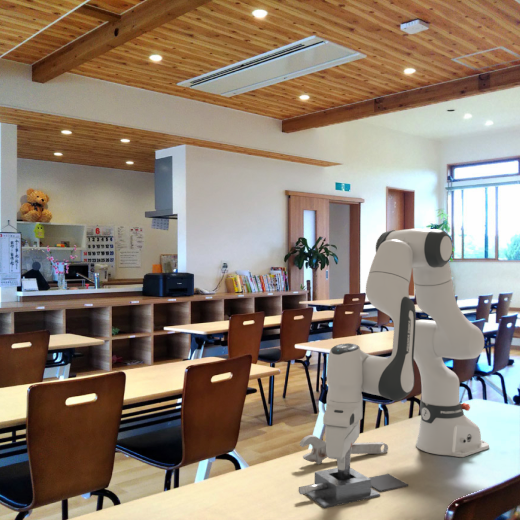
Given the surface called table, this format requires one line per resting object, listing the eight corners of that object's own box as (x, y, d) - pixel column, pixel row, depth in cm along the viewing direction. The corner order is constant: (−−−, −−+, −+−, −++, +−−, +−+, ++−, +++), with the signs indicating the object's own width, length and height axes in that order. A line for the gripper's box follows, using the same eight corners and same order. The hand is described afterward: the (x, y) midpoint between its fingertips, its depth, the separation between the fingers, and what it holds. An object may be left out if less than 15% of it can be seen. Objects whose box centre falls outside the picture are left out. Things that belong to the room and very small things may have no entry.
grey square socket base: (351, 479, 152) (351, 463, 152) (379, 496, 142) (380, 479, 142) (288, 491, 144) (288, 475, 144) (313, 510, 133) (313, 492, 133)
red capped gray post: (338, 478, 146) (338, 439, 146) (353, 480, 145) (353, 440, 145) (334, 483, 142) (334, 443, 142) (349, 486, 141) (349, 445, 141)
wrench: (387, 462, 173) (300, 465, 161) (383, 460, 175) (297, 463, 162) (389, 435, 174) (303, 436, 161) (385, 433, 175) (300, 434, 163)
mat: (388, 475, 155) (388, 473, 155) (408, 485, 148) (408, 484, 148) (360, 480, 151) (360, 479, 151) (379, 492, 144) (379, 490, 144)
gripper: (342, 399, 154) (341, 451, 154) (320, 419, 135) (320, 478, 135) (365, 401, 152) (365, 454, 152) (347, 422, 133) (346, 482, 133)
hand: (343, 465), depth 144 cm, fingers closed on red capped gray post, 3 cm apart
